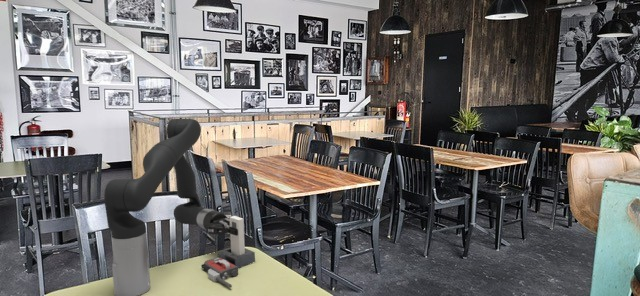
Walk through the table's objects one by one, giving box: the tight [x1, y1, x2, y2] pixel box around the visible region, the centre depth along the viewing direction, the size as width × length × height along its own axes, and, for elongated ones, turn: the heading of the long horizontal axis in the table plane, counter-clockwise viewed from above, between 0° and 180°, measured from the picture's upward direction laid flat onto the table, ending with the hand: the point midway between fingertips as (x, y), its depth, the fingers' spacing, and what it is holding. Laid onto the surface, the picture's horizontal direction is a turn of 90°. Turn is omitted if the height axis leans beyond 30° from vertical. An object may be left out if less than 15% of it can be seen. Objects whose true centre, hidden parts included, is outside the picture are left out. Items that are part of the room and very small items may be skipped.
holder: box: [217, 246, 256, 269], centre depth 148 cm, size 10×8×4 cm
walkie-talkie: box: [200, 256, 239, 288], centre depth 137 cm, size 9×4×20 cm
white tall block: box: [229, 215, 246, 256], centre depth 146 cm, size 5×2×15 cm, turn 47°
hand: (240, 231), depth 144 cm, fingers closed on white tall block, 1 cm apart
